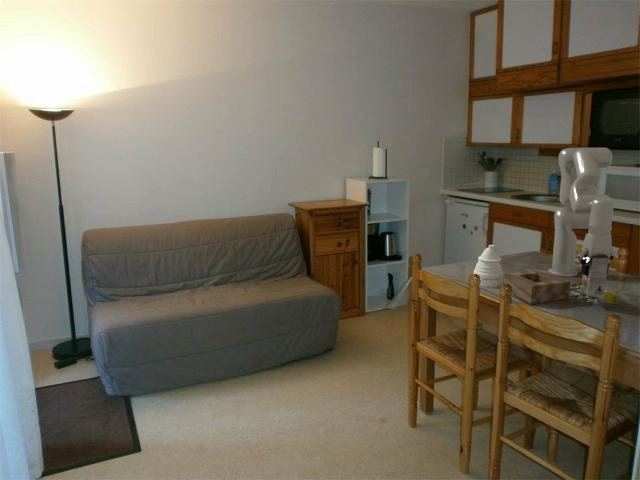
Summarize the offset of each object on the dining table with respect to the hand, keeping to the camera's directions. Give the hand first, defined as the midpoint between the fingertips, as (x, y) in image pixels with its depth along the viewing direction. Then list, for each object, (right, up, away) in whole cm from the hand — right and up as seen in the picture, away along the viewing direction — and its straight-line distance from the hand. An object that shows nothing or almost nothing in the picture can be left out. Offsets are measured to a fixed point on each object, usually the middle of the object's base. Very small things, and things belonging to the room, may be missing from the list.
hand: (594, 273), depth 202 cm
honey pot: (-31, -7, +32) cm, 45 cm away
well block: (-18, -10, +14) cm, 25 cm away
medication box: (+9, -11, +9) cm, 17 cm away
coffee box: (0, -8, +2) cm, 8 cm away
